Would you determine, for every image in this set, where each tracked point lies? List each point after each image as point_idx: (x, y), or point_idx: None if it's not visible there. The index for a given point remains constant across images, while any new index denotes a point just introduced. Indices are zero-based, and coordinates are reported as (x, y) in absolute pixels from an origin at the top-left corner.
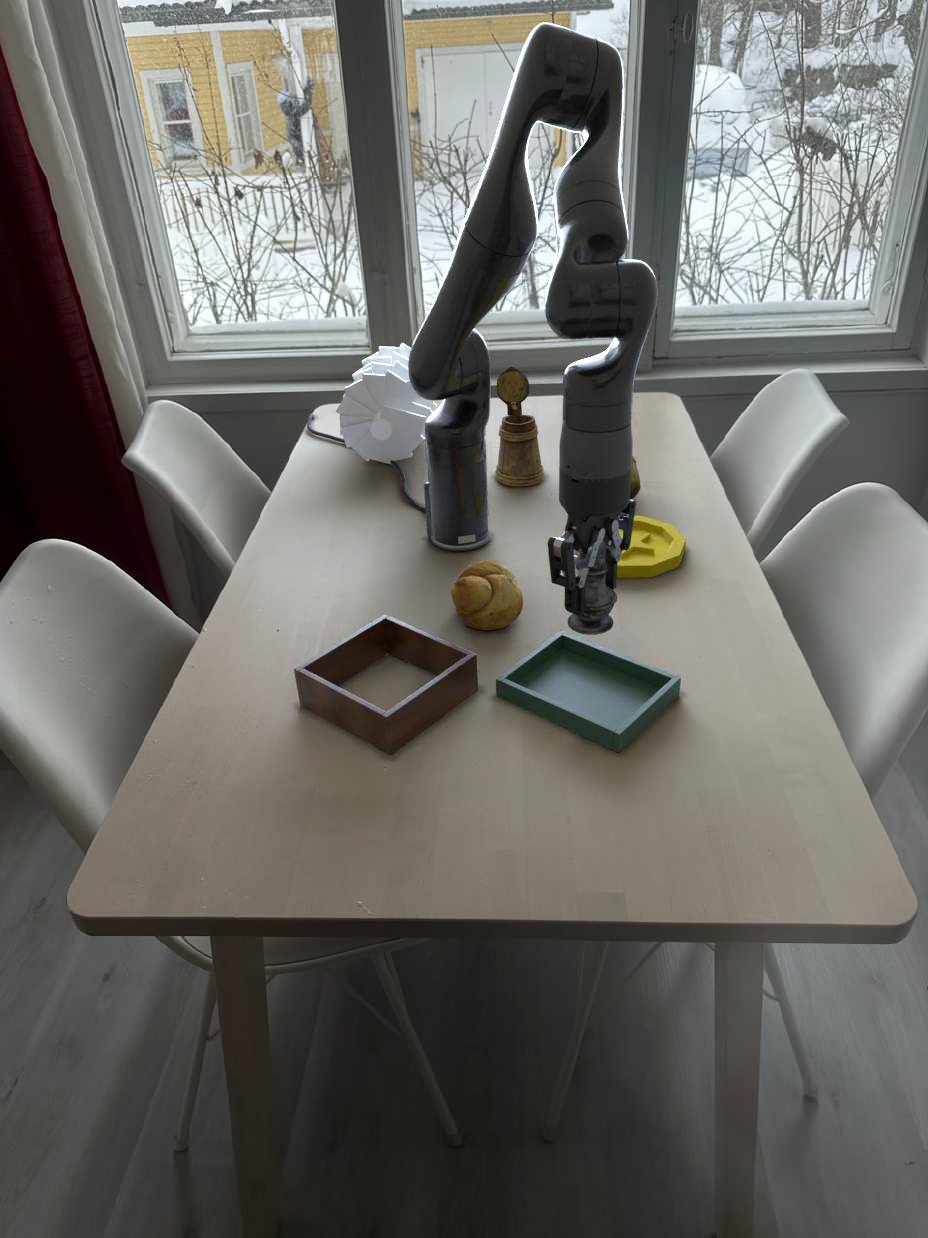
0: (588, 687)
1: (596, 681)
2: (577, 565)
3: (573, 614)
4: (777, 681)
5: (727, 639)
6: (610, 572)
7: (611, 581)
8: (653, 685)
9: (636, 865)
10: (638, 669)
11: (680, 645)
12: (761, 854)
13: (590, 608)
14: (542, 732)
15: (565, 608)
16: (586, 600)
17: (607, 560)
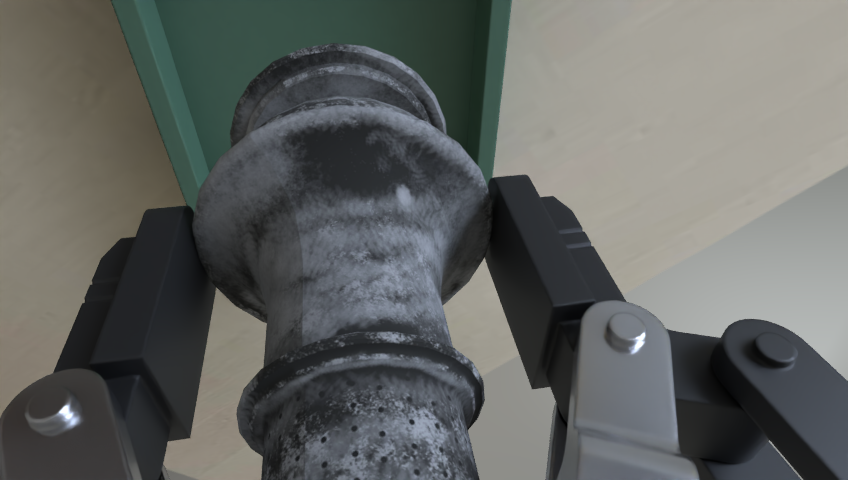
0: (344, 4)
1: (387, 4)
2: (287, 376)
3: (317, 76)
4: (613, 266)
5: (739, 136)
6: (515, 321)
7: (498, 284)
8: (465, 132)
9: (22, 362)
10: (478, 100)
11: (681, 67)
12: (213, 418)
13: (244, 308)
14: (81, 16)
15: (118, 243)
16: (259, 292)
17: (554, 356)
